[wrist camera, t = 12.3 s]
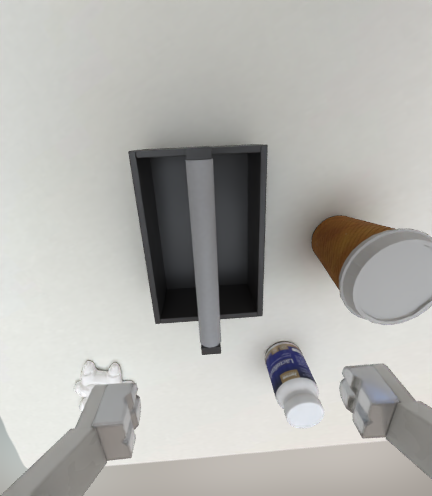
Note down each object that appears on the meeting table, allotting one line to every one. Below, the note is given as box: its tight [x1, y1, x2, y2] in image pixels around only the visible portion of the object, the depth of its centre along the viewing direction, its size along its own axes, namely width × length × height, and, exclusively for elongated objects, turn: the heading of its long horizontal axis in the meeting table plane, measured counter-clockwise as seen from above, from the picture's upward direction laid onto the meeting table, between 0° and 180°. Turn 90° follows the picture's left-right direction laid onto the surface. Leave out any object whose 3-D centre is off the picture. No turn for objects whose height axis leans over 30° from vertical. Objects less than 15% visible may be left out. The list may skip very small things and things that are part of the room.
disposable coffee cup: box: [312, 215, 432, 325], centre depth 28 cm, size 10×10×12 cm
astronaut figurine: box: [74, 361, 133, 412], centre depth 40 cm, size 9×12×3 cm
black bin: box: [129, 144, 267, 355], centre depth 27 cm, size 18×12×12 cm, turn 2°
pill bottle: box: [265, 342, 324, 428], centre depth 36 cm, size 6×6×10 cm
